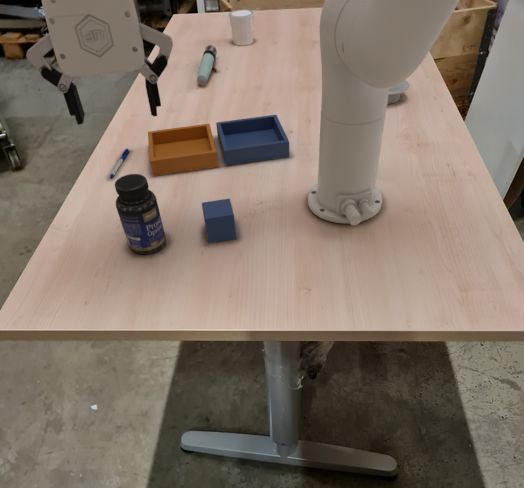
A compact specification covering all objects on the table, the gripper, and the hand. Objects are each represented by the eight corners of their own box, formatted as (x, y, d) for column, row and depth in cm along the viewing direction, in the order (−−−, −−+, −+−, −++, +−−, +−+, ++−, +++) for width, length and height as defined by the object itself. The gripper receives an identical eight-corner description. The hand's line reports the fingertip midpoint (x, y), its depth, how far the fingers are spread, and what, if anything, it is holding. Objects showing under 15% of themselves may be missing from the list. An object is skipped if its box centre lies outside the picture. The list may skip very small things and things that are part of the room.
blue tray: (289, 157, 94) (289, 141, 91) (225, 166, 93) (223, 150, 90) (276, 129, 101) (276, 114, 99) (217, 137, 100) (216, 122, 98)
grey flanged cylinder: (385, 47, 95) (427, 38, 97) (359, 33, 101) (400, 24, 103) (376, 111, 105) (416, 101, 107) (354, 94, 111) (391, 85, 113)
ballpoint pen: (125, 151, 99) (124, 147, 98) (130, 151, 98) (128, 147, 98) (110, 179, 92) (108, 174, 91) (114, 179, 92) (113, 174, 91)
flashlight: (214, 80, 116) (222, 49, 129) (197, 71, 114) (207, 41, 127) (209, 92, 118) (218, 61, 131) (192, 84, 117) (203, 53, 129)
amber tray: (218, 167, 93) (216, 151, 90) (153, 176, 92) (149, 160, 89) (211, 138, 100) (209, 123, 98) (151, 146, 99) (147, 131, 97)
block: (236, 238, 78) (233, 214, 74) (208, 243, 77) (204, 218, 74) (232, 222, 81) (229, 198, 77) (205, 226, 80) (201, 202, 77)
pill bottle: (159, 257, 76) (142, 195, 67) (123, 254, 77) (102, 192, 68) (171, 233, 79) (157, 172, 71) (137, 230, 80) (119, 169, 72)
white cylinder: (227, 40, 138) (225, 12, 133) (249, 36, 140) (247, 7, 134) (237, 47, 134) (234, 18, 129) (259, 43, 136) (257, 13, 130)
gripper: (-16, -34, 48) (48, 136, 61) (159, -48, 49) (184, 121, 62) (-2, -50, 52) (54, 111, 65) (156, -62, 54) (181, 97, 67)
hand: (118, 116), depth 64 cm, fingers open, 9 cm apart
